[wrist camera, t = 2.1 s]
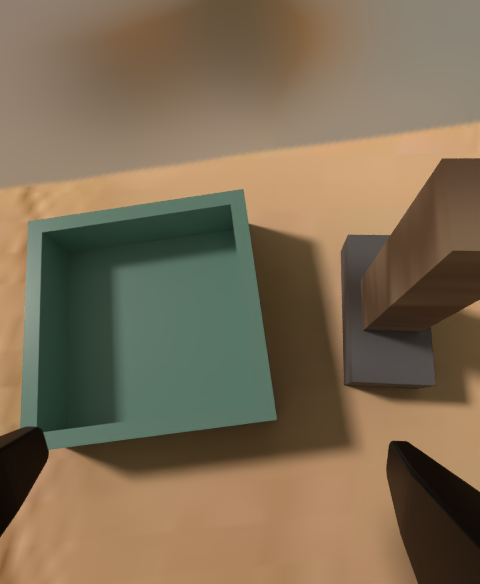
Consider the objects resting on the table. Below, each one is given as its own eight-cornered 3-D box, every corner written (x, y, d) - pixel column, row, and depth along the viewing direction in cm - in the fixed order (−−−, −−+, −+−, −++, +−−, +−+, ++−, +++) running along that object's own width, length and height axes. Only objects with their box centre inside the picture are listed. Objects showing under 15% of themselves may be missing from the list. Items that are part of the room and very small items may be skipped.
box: (247, 222, 25) (243, 189, 22) (275, 418, 22) (276, 419, 18) (64, 250, 26) (28, 221, 22) (62, 446, 22) (19, 453, 18)
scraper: (418, 388, 22) (614, 355, 9) (344, 385, 22) (438, 348, 10) (407, 252, 24) (553, 82, 12) (340, 251, 24) (413, 84, 12)
